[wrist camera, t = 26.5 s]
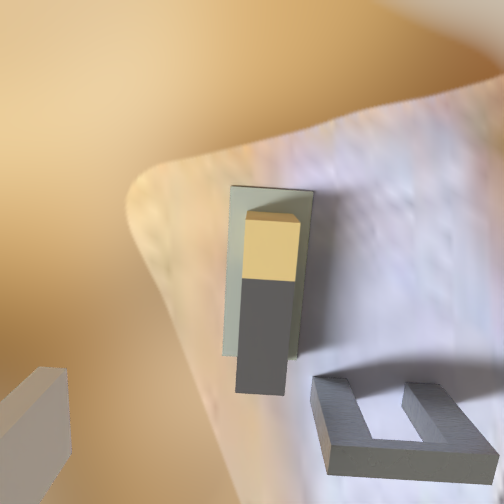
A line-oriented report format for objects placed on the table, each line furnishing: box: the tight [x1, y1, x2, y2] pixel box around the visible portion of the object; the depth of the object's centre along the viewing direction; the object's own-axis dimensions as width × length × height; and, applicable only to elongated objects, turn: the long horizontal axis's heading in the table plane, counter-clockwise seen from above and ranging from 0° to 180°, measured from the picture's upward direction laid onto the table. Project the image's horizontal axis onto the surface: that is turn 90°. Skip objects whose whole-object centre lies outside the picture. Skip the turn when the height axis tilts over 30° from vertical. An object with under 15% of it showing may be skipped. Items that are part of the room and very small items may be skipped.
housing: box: [310, 377, 500, 485], centre depth 35 cm, size 3×14×10 cm, turn 86°
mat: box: [222, 186, 313, 360], centre depth 37 cm, size 18×8×1 cm, turn 176°
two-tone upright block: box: [235, 211, 301, 396], centre depth 34 cm, size 16×4×6 cm, turn 176°
